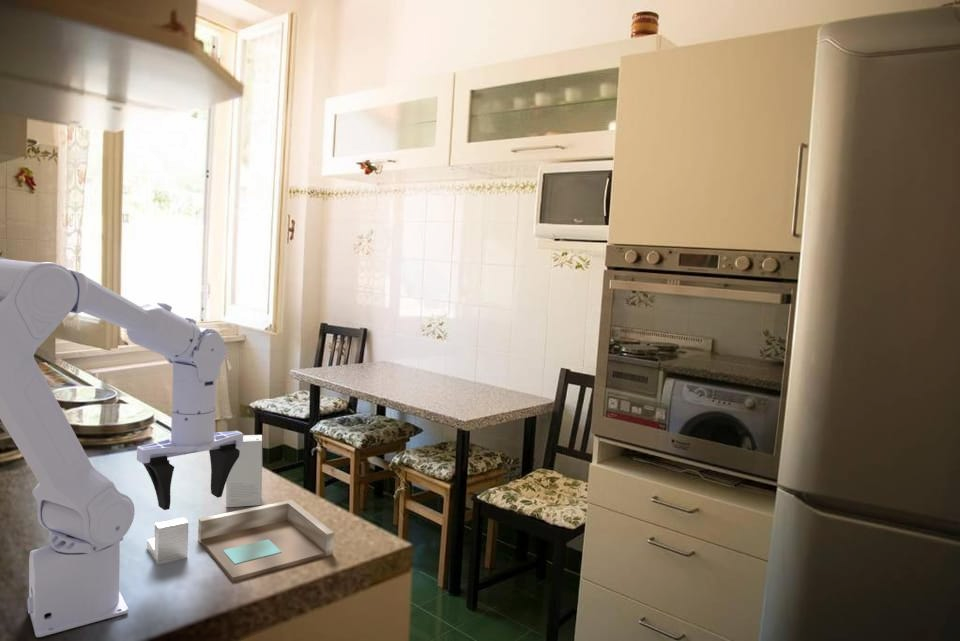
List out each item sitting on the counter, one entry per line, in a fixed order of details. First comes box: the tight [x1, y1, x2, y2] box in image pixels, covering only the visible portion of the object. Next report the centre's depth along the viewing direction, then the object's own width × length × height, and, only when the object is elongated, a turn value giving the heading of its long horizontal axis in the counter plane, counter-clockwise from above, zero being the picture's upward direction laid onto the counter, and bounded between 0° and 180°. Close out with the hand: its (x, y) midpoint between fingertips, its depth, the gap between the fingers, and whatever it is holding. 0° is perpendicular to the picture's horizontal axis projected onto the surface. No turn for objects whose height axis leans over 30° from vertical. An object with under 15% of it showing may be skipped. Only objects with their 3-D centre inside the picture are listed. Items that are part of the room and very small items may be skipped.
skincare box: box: [225, 434, 263, 508], centre depth 115 cm, size 6×4×12 cm
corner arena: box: [197, 499, 335, 583], centre depth 99 cm, size 15×15×4 cm
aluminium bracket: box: [146, 517, 189, 566], centre depth 95 cm, size 4×6×6 cm, turn 41°
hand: (191, 501), depth 93 cm, fingers open, 7 cm apart
